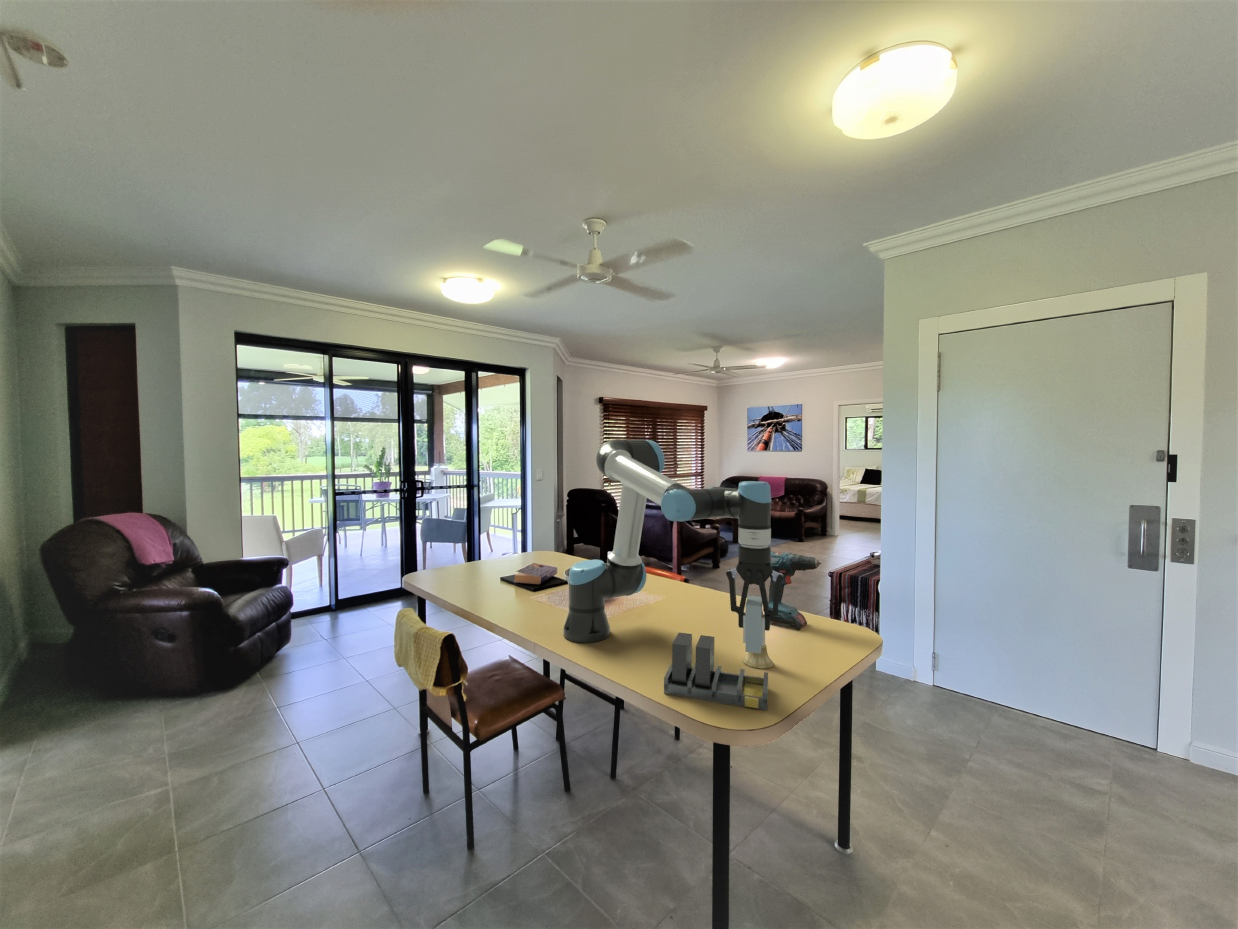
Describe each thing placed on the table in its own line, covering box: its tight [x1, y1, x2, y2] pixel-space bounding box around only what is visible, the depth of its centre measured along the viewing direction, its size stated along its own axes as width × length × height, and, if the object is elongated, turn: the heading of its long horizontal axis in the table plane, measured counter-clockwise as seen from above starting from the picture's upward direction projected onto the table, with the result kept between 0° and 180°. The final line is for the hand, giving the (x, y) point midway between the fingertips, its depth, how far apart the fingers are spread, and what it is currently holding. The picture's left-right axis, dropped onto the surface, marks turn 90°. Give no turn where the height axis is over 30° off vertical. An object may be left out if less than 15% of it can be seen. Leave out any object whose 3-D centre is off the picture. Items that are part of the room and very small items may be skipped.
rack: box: [663, 631, 769, 711], centre depth 119 cm, size 24×12×12 cm, turn 71°
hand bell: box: [742, 610, 774, 670], centre depth 136 cm, size 8×8×16 cm
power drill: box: [762, 550, 822, 631], centre depth 167 cm, size 9×23×25 cm, turn 53°
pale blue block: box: [744, 595, 763, 654], centre depth 116 cm, size 4×8×11 cm, turn 161°
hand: (754, 641), depth 116 cm, fingers closed on pale blue block, 3 cm apart
